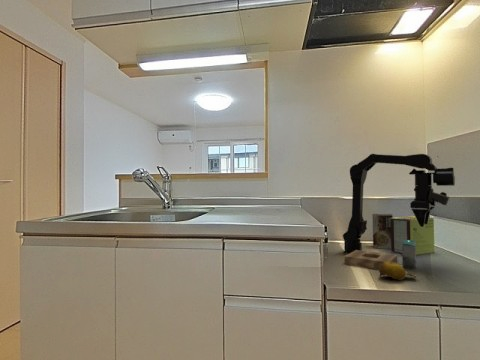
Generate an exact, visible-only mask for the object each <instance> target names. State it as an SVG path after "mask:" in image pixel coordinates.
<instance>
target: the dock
mask: <svg viewBox="0 0 480 360" xmlns="http://www.w3.org/2000/svg"><path fill="white" fill-rule="evenodd" d="M343 258H344V259H343V260H344V261H343V262H344V265H347V266H348V265H349V266H355V267H361V268H367V269H374V270H380V266H381V265H382V264H383V263H384V262H393V263H395V264H398V254H392V253H391V254H390V253H384V252H383V253H382V252H375V251H368V250H362V251H361V250H355V251H353V252H351V253H350V254H349V253H347V254H346V255H344V256H343Z"/></svg>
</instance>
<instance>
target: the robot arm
mask: <svg viewBox="0 0 480 360" xmlns="http://www.w3.org/2000/svg"><path fill="white" fill-rule="evenodd" d="M376 164H388V165H401V166H402V165H404V166H408V167H413V169H412V170H411V171H410V172H409V173H408V174H409V175H411V176H412V175H414V188H413V191H414V199H413V201H411V202H410V209H411V211H412V212H413V214H414V215H413V216H415V217H416V219H417V221H418V223H419V225H420V226H421V227H423V226H424V224H427V223H428V219H429V218H430V215H431V212H432V210H433V209H435V208H436V207H435V206H436V205H437V203H439V204H441V205H444V206H447V205H448V203H449V201H450V196H448V195H447V193H446V192H444V191H442V192H440V193H438V192H434V189H433V187H432V185H433V184H436V186H437V187H442V186H444V187H446V186H450V187H452V186H455V185H456V176H455V171H454V167H448V168H437V166H436V165H434V164H433V159H432V157H431V156H430V155H428V154H425V153H417V154H408V155H396V154H395V155H394V154H377V153H371V154H369V155H368V156H367V157H365V158H364V159H363V160H361V161H359V162H358V163H357V164H354V165H352V166H351V167H350V168H349V176H350V180H351V183H352V200H351V201H352V202H351V203H352V204H351V217H350V220H349V223H348V227H347V230H346V231H345V232H344V233H343V234H342V238H343V242H344V243H343V246H344V251H343V252H342V253H344V254H350V253H351V252H353V251H355V250H361V251H363V249H362V245H363V243H362V242H361V237H362V236H363V235H364V234H365V232H366V230H367V229H368V227H367V223H368V220H365V219H364V217H363V207H364V206H363V205H364V184H365V182H366V179H367V176H368V172H369V171H370V170H371V169H373V167H374V166H375V165H376ZM416 168H417V169H421V170H417V169H416ZM426 170H427V171H430V172H426ZM432 183H433V184H432Z"/></svg>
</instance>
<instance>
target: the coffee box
mask: <svg viewBox="0 0 480 360" xmlns="http://www.w3.org/2000/svg"><path fill="white" fill-rule="evenodd" d="M371 215H372V246H373V247H372V248H373V249H385V250H386V249H387V250H391V218H394V216H393V213H372V214H371Z"/></svg>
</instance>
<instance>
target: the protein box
mask: <svg viewBox="0 0 480 360" xmlns="http://www.w3.org/2000/svg"><path fill="white" fill-rule="evenodd" d="M434 220H435V219H434V218H433V217H429V219H428V223H427V224H424V226H423V227H421V226H420V225H419V223H418V221H417V219H416V217H415V215H409V216H399V217H397V216H395V217H393V218H391V249H390V251H391V252H393V253H398V254H402V240H414V241H416V256H417V255H424V254H431V253H435V226H434V225H435V221H434Z"/></svg>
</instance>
